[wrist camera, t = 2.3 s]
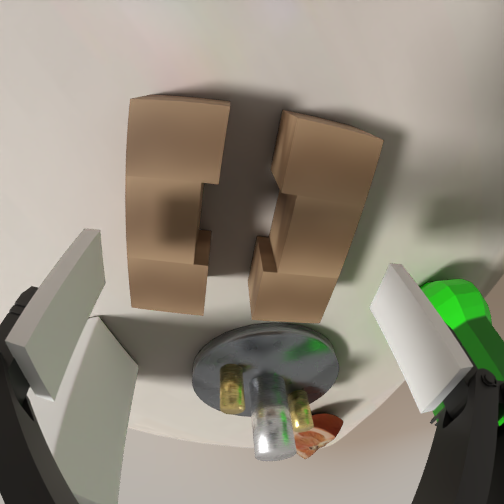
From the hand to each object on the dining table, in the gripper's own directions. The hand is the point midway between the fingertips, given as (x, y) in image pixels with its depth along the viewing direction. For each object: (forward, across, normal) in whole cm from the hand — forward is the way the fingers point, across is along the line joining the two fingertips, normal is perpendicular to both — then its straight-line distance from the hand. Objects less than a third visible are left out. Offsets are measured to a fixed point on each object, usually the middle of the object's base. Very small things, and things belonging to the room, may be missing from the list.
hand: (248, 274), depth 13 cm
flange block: (+7, 0, +1) cm, 7 cm away
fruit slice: (+8, +13, -27) cm, 31 cm away
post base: (+7, +5, -16) cm, 19 cm away
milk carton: (+7, -12, -15) cm, 21 cm away
